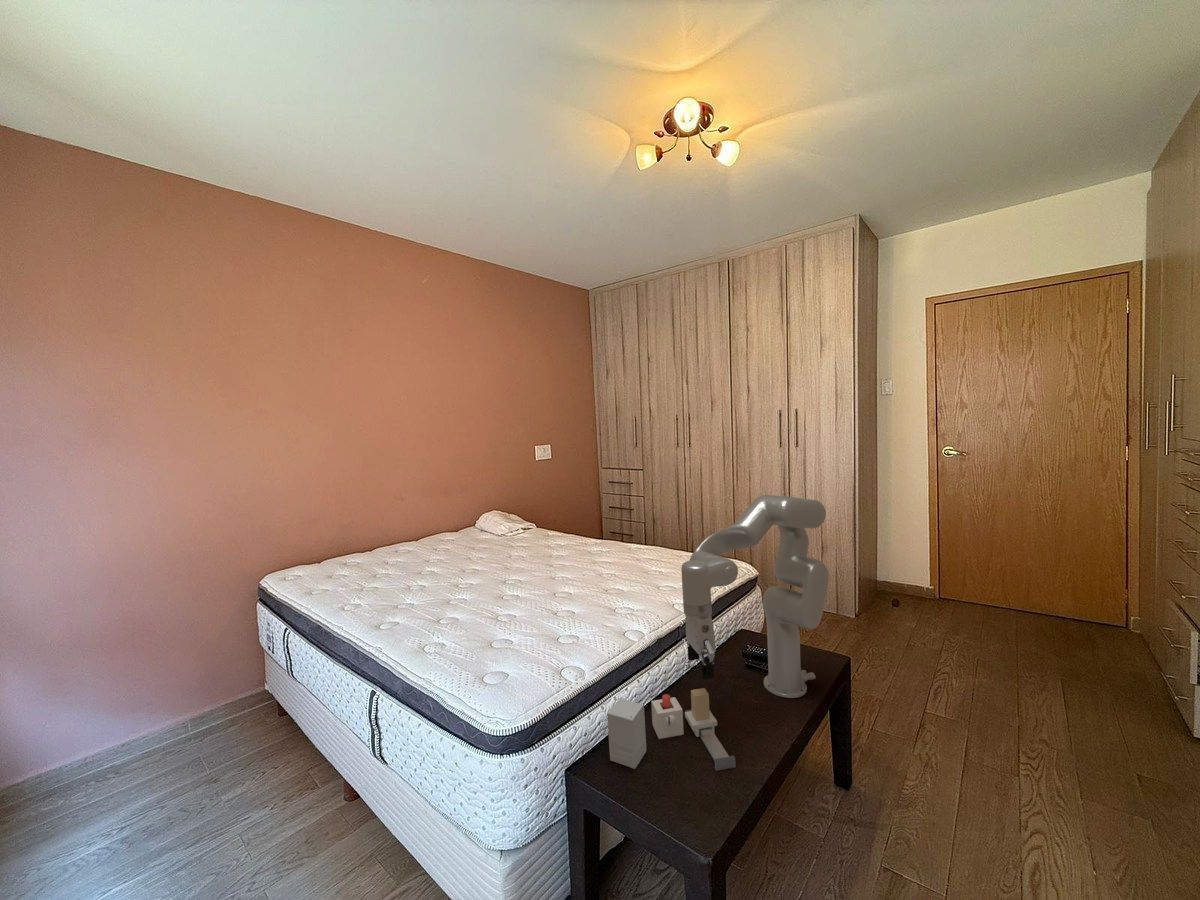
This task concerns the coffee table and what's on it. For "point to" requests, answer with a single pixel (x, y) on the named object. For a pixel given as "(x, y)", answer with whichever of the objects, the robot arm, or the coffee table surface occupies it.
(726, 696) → the coffee table surface
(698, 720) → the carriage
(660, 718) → the white cube box
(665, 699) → the button
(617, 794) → the coffee table surface
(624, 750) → the supplement box
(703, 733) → the rail
